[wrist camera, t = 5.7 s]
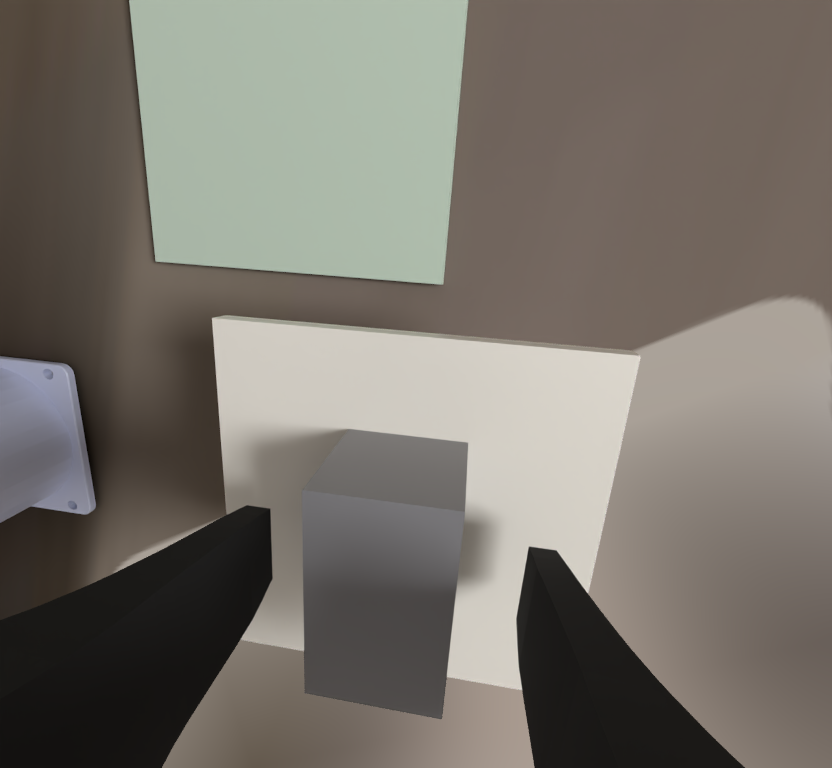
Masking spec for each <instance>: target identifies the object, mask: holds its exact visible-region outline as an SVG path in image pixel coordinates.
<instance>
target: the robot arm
mask: <svg viewBox="0 0 832 768" xmlns="http://www.w3.org/2000/svg"><path fill="white" fill-rule="evenodd" d="M51 371H52V372H51ZM52 373H53V374H52ZM30 506H33V507H39V508H45V509H52V510H58V511H65V512H71V513H78V514H88V513H90V512H91V511H93V510H94V509H95V508H96V502H95V496H94V490H93V484H92V478H91V472H90V466H89V460H88V454H87V448H86V442H85V436H84V430H83V424H82V418H81V412H80V406H79V400H78V394H77V388H76V382H75V376H74V372H73V370H72V369H71V367H70V366H68V365H67V364H64V363H57V362H48V361H39V360H30V359H21V358H12V357H3V356H0V523H1V522H3V521H5V520H6V519H8V518H10V517H12V516H14V515H16V514H17V513H19V512H21V511H23V510H25V509H26V508H28V507H30ZM272 579H273V575H272V543H271V512H270V508H263V507H256V506H249V505H246V506H244V507H242V508H240V509H238V510H236V511H234V512H232V513H230V514H228V515H226V516H224V517H222V518H220V519H218V520H216V521H215V522H213V523H211V524H209V525H207V526H205V527H204V528H202V529H200V530H198V531H196V532H194V533H192V534H191V535H189V536H187V537H185V538H183V539H181V540H179V541H177V542H176V543H174V544H172V545H170V546H168V547H167V548H164V549H162V550H160V551H159V552H157V553H155V554H152V555H151V556H148V557H146V558H144V559H142V560H140V561H138V562H136V563H134V564H132V565H130V566H128V567H126V568H124V569H122V570H120V571H118V572H116V573H114V574H112V575H110V576H108V577H106V578H103V579H101V580H99V581H97V582H95V583H92V584H90V585H88V586H86V587H83V588H81V589H79V590H76V591H74V592H72V593H69V594H67V595H64V596H62V597H60V598H57V599H55V600H52V601H50V602H48V603H45V604H43V605H40V606H38V607H35V608H32V609H30V610H27V611H24V612H22V613H19V614H16V615H13V616H11V617H8V618H5V619H2V620H0V768H162V766H163V764H164V762H165V761H166V759H167V757H168V755H169V753H170V751H171V749H172V747H173V746H174V743H175V742H176V741H177V739H178V737H179V736H180V734H181V732H182V730H183V729H184V727H185V725H186V724H187V722H188V720H189V719H190V717H191V715H192V714H193V713H194V711H195V709H196V708H197V706H198V704H199V703H200V702H201V700H202V698H203V697H204V695H205V694H206V692H207V691H208V689H209V688H210V686H211V684H212V683H213V681H214V680H215V678H216V677H217V675H218V674H219V672H220V671H221V669H222V667H223V666H224V664H225V663H226V661H227V660H228V658H229V657H230V655H231V653H232V652H233V650H234V649H235V647H236V646H237V644H238V642H239V641H240V639H241V638H242V636H243V634H244V633H245V631H246V630H247V628H248V626H249V625H250V623H251V622H252V620H253V618H254V616H255V614H256V612H257V610H258V608H259V606H260V604H261V602H262V600H263V598H264V596H265V594H266V592H267V589H268V587H269V585H270V583H271V581H272ZM516 626H517V647H518V663H519V672H520V679H521V685H522V691H523V698H524V704H525V710H526V716H527V723H528V729H529V735H530V741H531V748H532V754H533V760H534V766H535V768H745V767H743V766H742V765H741V764H740V763H739V762H738V761H737V760H736V759H735V758H734V757H733V756H732V755H731V754H729V752H728V751H727V750H726V749H724V748H723V747H722V746H721V745H720V744H719V743H718V742H717V741H716V740H715V739H714V738H713V737H712V736H711V735H710V734H709V733H708V732H707V731H706V730H705V729H704V728H703V727H702V726H701V725H700V724H699V723H698V722H697V721H696V720H695V719H694V718H693V716H691V715H690V713H689V712H688V711H687V710H686V709H685V708H684V707H683V706H682V705H681V704H680V703H679V702H678V701H677V700H676V699H675V698H674V697H673V696H672V695H671V694H670V693H669V692H668V690H667V689H666V688H665V687H664V686H663V685H662V684H661V683H660V682H659V681H658V680H657V678H656V677H655V676H654V675H653V674H652V673H651V672H650V670H649V669H648V668H647V667H646V666H645V665H644V664H643V662H642V661H641V660H640V659H639V658H638V657H637V656H636V654H635V653H634V652H633V651H632V650H631V649H630V647H629V646H628V645H627V644H626V643H625V641H624V640H623V639H622V637H621V636H620V635H619V634H618V632H617V631H616V630H615V629H614V627H613V626H612V625H611V624H610V622H609V621H608V620H607V618H606V617H605V616H604V614H603V613H602V612H601V611H600V610H599V608H598V607H597V605H596V604H595V603H594V601H593V600H592V599H591V597H590V596H589V595H588V593H587V592H586V590H585V589H584V588H583V586H582V585H581V584H580V582H579V581H578V579H577V578H576V577H575V575H574V574H573V572H572V571H571V570H570V568H569V567H568V565H567V564H566V563H565V561H564V560H563V558H562V557H561V556H560V554H559V553H558V552H557V550H550V549H543V548H537V547H530V546H529V548H528V554H527V560H526V565H525V571H524V577H523V582H522V588H521V594H520V600H519V605H518V611H517V617H516Z"/></svg>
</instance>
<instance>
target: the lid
mask: <svg viewBox="0 0 832 768" xmlns="http://www.w3.org/2000/svg"><path fill="white" fill-rule="evenodd" d="M212 325H213V339H214V352H215V366H216V379H217V393H218V407H219V420H220V434H221V448H222V461H223V475H224V488H225V502H226V515H228V514H230V513H232V512H234V511H236V510H238V509H240V508H242V507H244V506H246V505H249V506H256V507H263V508H270V512H271V543H272V575H273V579H272V581H271V583H270V585H269V587H268V589H267V592H266V594H265V596H264V598H263V600H262V602H261V604H260V606H259V608H258V610H257V612H256V614H255V616H254V618H253V620H252V622H251V623H250V625H249V626H248V628H247V630H246V631H245V633H244V634H243V636H242V638H241V639H240V640H245V641H251V642H257V643H262V644H267V645H273V646H279V647H284V648H290V649H295V650H301V651H304V672H305V674H304V675H305V693H307V694H312V695H317V696H323V697H328V698H333V699H338V700H344V701H349V702H354V703H359V704H365V705H370V706H375V707H380V708H385V709H391V710H396V711H401V712H407V713H412V714H417V715H422V716H427V717H432V718H438V719H442V714H443V705H444V696H445V687H446V677H452V678H457V679H462V680H468V681H473V682H479V683H484V684H490V685H496V686H501V687H507V688H512V689H518V690H522V685H521V679H520V672H519V663H518V647H517V626H516V617H517V611H518V605H519V600H520V594H521V588H522V582H523V577H524V571H525V565H526V560H527V554H528V548H529V546H530V547H537V548H543V549H550V550H557V552H558V553H559V554H560V556H561V557H562V558H563V560H564V561H565V563H566V564H567V565H568V567H569V568H570V570H571V571H572V572H573V574H574V575H575V577H576V578H577V579H578V581H579V582H580V584H581V585H582V586H583V588H584V589H585V590H586V592H587V593H588V592H589V588H590V583H591V579H592V574H593V570H594V565H595V561H596V556H597V552H598V547H599V543H600V538H601V534H602V529H603V525H604V520H605V516H606V511H607V507H608V501H609V498H610V493H611V488H612V484H613V479H614V475H615V470H616V466H617V461H618V457H619V452H620V448H621V443H622V439H623V434H624V430H625V425H626V421H627V416H628V411H629V407H630V403H631V398H632V394H633V389H634V385H635V380H636V376H637V371H638V367H639V362H640V358H641V356H640V355H638V354H637V353H635V352H633V351H631V350H620V349H609V348H597V347H586V346H574V345H563V344H551V343H540V342H528V341H517V340H505V339H494V338H482V337H471V336H459V335H448V334H436V333H425V332H413V331H402V330H390V329H379V328H367V327H356V326H344V325H333V324H321V323H310V322H298V321H287V320H275V319H264V318H252V317H241V316H229V315H225V316H220V317H215V318H212Z"/></svg>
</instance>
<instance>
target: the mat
mask: <svg viewBox="0 0 832 768" xmlns="http://www.w3.org/2000/svg"><path fill="white" fill-rule="evenodd" d="M129 4H130V14H131V24H132V34H133V43H134V53H135V63H136V73H137V83H138V93H139V103H140V113H141V122H142V132H143V142H144V152H145V162H146V172H147V182H148V191H149V201H150V211H151V221H152V231H153V241H154V251H155V261H156V262H169V263H181V264H194V265H206V266H218V267H231V268H243V269H255V270H268V271H280V272H292V273H305V274H317V275H329V276H342V277H354V278H367V279H379V280H391V281H404V282H416V283H428V284H441V285H443V283H444V271H445V260H446V249H447V237H448V226H449V214H450V203H451V192H452V180H453V169H454V157H455V146H456V135H457V123H458V112H459V101H460V89H461V78H462V66H463V55H464V44H465V32H466V21H467V9H468V0H129Z"/></svg>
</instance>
